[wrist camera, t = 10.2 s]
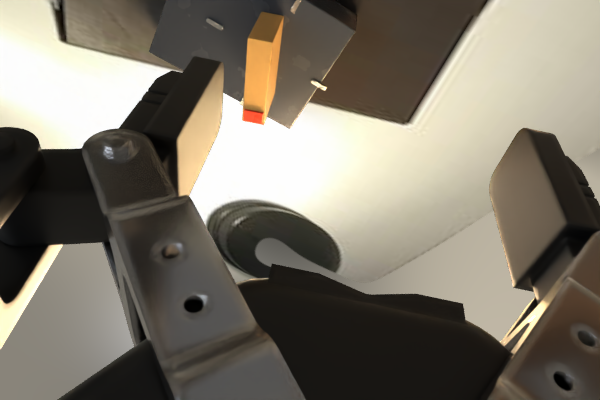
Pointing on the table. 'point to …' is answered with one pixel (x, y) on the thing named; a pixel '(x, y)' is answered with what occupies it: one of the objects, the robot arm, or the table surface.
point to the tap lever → (262, 67)
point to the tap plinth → (234, 35)
